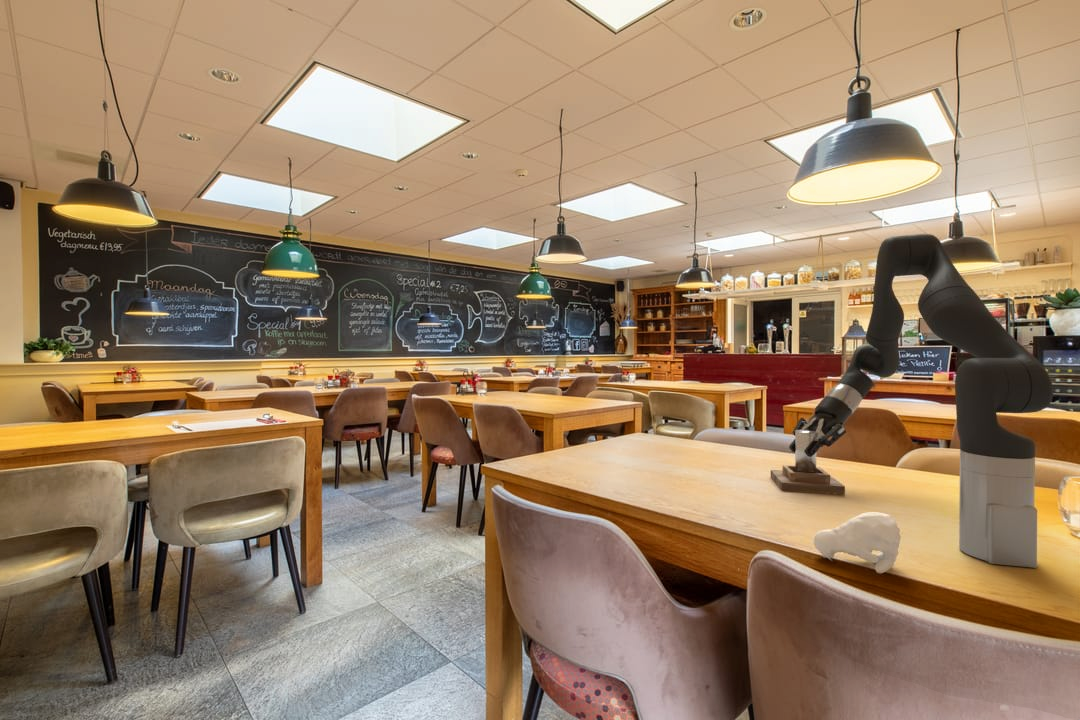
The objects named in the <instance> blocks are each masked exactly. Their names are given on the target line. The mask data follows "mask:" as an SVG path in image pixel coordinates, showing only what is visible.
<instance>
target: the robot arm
mask: <svg viewBox="0 0 1080 720" xmlns="http://www.w3.org/2000/svg"><path fill="white" fill-rule="evenodd" d="M875 265H876V266H875V275H874V276H875V277H874V287H873V288H874V289H873V299H872V300H873V302H872V309H871V310H872V311H871V314H870V318H869V321H868V327H867V330H866V333H865V340H866V342H867V343H863V344H861V345H859V346H857V347H856V348H855V350H854V352H853V354H852V357H851V359H850V362H849V365H848V367H847V369H846V371H845V373H844V374H843V376H841V378H840V379H839V380H838V382H837V383H836V384H835V385H834V386H833V387H832V388H830V390H829V391H828V392H827V393H826V394H825V396H824V397H823V398H822V399H821V401H820V402H819V403H818V404H817V406H816V407H814V415H812V416H811V417H810V418H807V419H806V418H804V417H800V418H799V419H798V421H797V423H796V425H795V427H794V429H793V431H792V433H791V434H792V435H793V436H794V437H795V431H796V430H810V431H815V432H816V436H815V438H814V441H812V442H811V443H810V444H809V446H808V447H807V448H806V449H805V451H804V452H805V454H806V455H807V456H809V457H812V456H813V455H814V454H815V453H816V454H817V452H818V451H819V449H820V448H823V447H824V446H826V447H831V446H832V445H834V443H835V442H837V441H838V440H839V439H840V438H841V437H843V436H844V435H845V434H846V433H847V430H846V428H845V427H844V424H845V423H846V422H847V421H848V420H849V418H850V417H851V416H852V415H853V414H854V412H855V411H856V410H857V409H858V408H859V405H861V402H863V399H864V398H865V397H866V396H867V395H868V393H869V392H870V391H871V390H872V388H873V385H874V382H873V379H872V378H871V377H870V376H868V375H867V374H866V373H869V374H872V375H874V376H877V377H878V378H884V379H885V378H886V379H887V378H890V377H891V376H893V375H895V373H896V372H897V371H898V369H899V366H900V352H899V351H900V350H899V338H900V337H901V336H900V335H901V332H902V329H903V326H904V322H905V313H904V309H903V307H902V305H901V303H900V302H899V299H898V298H897V296H896V295H895V292H894V290H893V282H894V279H895V277H903V276H905V277H906V276H923V277H925V278H926V279H927V280H928V281H927V283H926V284H925V286H924V287H923V289H922V291H921V293H920V295H919V297H918V302H917V309H918V312H919V314H920V315H921V317H922V318H923V321H924V322H925V324H926V325H927V326H928V329H929V330H930V331H931V332H932V334H934V335H936V336H937V337H938V338H940V339H941V340H943V341H944V342H947V343H948V344H950V345H951V346H954V348H958V349H960V350H961V351H964V352H965V353H968V354H969V355H971V356H973V357H974V358H973V357H972V358H968V359H965V360H964V361H963V362H961V364H960V365H959V366H958V369H957V371H956V374H955V379H954V397H955V411H956V429H957V434H958V439H959V494H958V495H959V499H958V500H959V508H958V509H959V511H958V512H959V513H958V514H959V515H958V520H959V522H958V526H959V528H958V529H959V530H958V531H959V532H958V535H959V536H958V538H959V539H958V540H959V541H958V544H959V545H958V548H959V550H960V551H962V552H963V553H965V554H967V555H968V556H970V557H971V556H972V557H974V558H976V559H979V560H982V561H985V562H987V563H989V564H991V565H992V564H993V565H1001V566H1002V565H1003V566H1011V567H1012V566H1013V567H1022V568H1023V567H1024V568H1032V569H1033V568H1035V569H1036V568H1038V565H1037V564H1038V563H1037V562H1038V561H1037V560H1038V509H1037V508H1036V507H1035V494H1036V493H1035V489H1036V488H1035V486H1036V485H1035V484H1036V483H1035V482H1036V481H1035V479H1036V478H1035V477H1036V475H1035V474H1036V444H1035V441H1034V440H1032V439H1031V437H1030V438H1029V437H1028V436H1025V435H1021V434H1018V433H1015V432H1012V431H1009V430H1007V429H1006V428H1004V427H1003V426H1001V425H1000V424H999V420H998V417H997V416H998V415H997V413H998V414H1029V413H1030V414H1032V413H1038V412H1040V411H1043V410H1044V409H1046V408H1048V406H1049V405H1050V404H1051V403H1052V401H1053V397H1054V386H1053V382H1052V379H1051V377H1050V374H1049V373H1048V371H1047V370H1046V369H1045V367H1044V366H1043V364H1042V363H1041V362H1040V361H1039V360H1038V359H1037V358H1036V357H1035V356H1034V355H1033V354H1032V353H1031V352H1030V351H1028V350H1027V348H1026V347H1024V346H1023V345H1022V344H1021V343H1020V342H1019V341H1017V340H1016V339H1015V338H1014V337H1013V336H1012V335H1011V334H1010V333H1009V332H1008V330H1006V329H1005V327H1004V326H1003V325H1002V324H1001V322H999V320H997V319H996V317H995V316H994V315H993V314H992V313H991V311H990V310H989V309H988V307H987V306H986V304H985V302H984V301H982V299H981V298H980V297H979V296H978V294H977V292H976V291H975V290H974V289H972V287H971V286H970V285H969V284H968V283H967V281H966V280H965V279H964V278H963V276H962V275H961V274H960V272H959V271H958V269H957V268H956V267H955V265H954V263H953V261H952V260H951V257H950V256H949V254H948V252H947V251H946V248H945V247H944V246H943V244H942V242H941V241H940V240H939V238H938V237H937V236H935V235H934V234H931V233H915V234H903V235H894V236H887V237H886V238H884V239H883V241H882V242H881V244H880V246H879V249H878V253H877V257H876V264H875ZM865 372H866V373H865ZM830 438H831V439H830ZM788 449H789V450H790V451H791V452H792V453H794V454H795V438H794V439H793V441H791V443H790V444H789V446H788Z"/></svg>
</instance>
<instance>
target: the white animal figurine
mask: <svg viewBox="0 0 1080 720" xmlns="http://www.w3.org/2000/svg"><path fill="white" fill-rule="evenodd" d="M900 532H901V530H900V528H899V526H898V523H897V522H896V520H895V519H894V518H893V517H892V516H891V515H889V514H888V513H882V512H880V511H879V512H878V511H877V512H876V511H868V512H863V513H859V514H858V515H857V516H853V517H851V518H849V519H848V520H847V521H846V522H843V523H841V524H840V525H839V526H837V527H834V528H832V529H823V530H819V531H817V532H815V534H814V537H813V544H814V547H815V549H816V550H817V551H818V552H819V553H820V554H821V556H822V557H823V559H825V558H826V559H828V560H830V561H833V560H834V559H833V558H834V557H835V554H837V553H844V554H848V555H850V556H855V557H859V559H862V560H864V561H866V562H868V563H870V564H875V572H876V573H877V574H884V573H885V572H887V571H888V570H890V569H891V568H892V567H893V566H894V565H895V562H897V561H896V560H897V557H898V556H899V547H900V543H901V539H902V538H901V537H902V536H901V533H900ZM873 551H876V552H878V553H876V554H873ZM879 552H880V553H879ZM832 559H833V560H832Z"/></svg>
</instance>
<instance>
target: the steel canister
mask: <svg viewBox="0 0 1080 720" xmlns="http://www.w3.org/2000/svg"><path fill="white" fill-rule="evenodd" d="M815 436H816V432H815V431H810V430H809V429H808V430H796V431H795V436H794V439H795V453H794V454H795V461H794V463H795V464H794V466H795V469H796V470H798V471H803V472H816V467H817V452H816V453H815V454H814V455H813V456H812V457H809V456H807V455H806V454H805V452H804V451H805V449H806V448H807V447H808V446H809V444H810V443H811V442H812V441H814V438H815Z"/></svg>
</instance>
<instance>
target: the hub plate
mask: <svg viewBox="0 0 1080 720" xmlns="http://www.w3.org/2000/svg"><path fill="white" fill-rule="evenodd" d="M770 478H771V479H772V480H774V481H773V482H774V483H775V485H777V487H778V486H779V487H778V488H779V489H780V490H781V491H783V492H784V491H786V492H799V493H812V492H814V493H813V494H827V493H836V494H835V495H842V494H845V495H846V486H845V485H844V484H843V483H842V482H840V481H838V480H837V479H835V477H833V476H832V475H831V474H829V473H828V472H827V471H825V470H824V469H822V468H821V466H816V472H803V471H798V470H796V469H795V465H790V464H789V465H788V464H786V465H785V464H782V470H781V469H780V470H779V469H770Z"/></svg>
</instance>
